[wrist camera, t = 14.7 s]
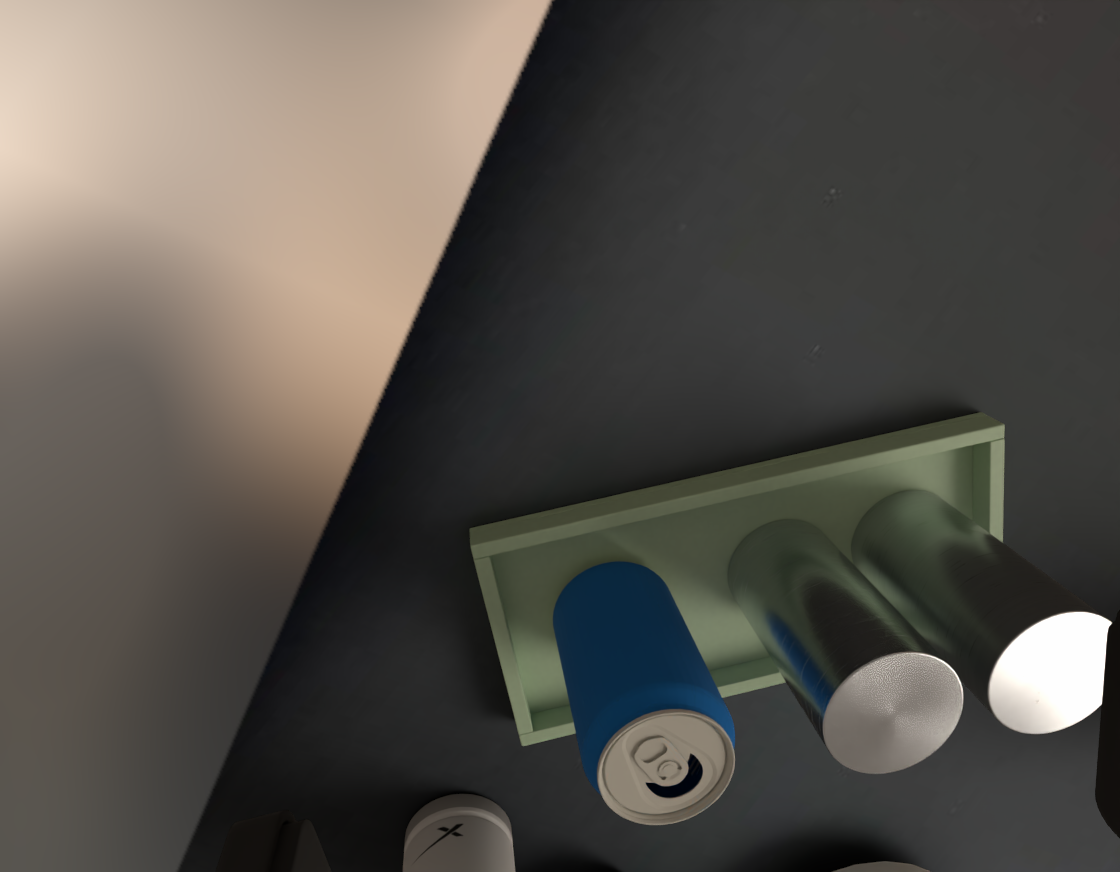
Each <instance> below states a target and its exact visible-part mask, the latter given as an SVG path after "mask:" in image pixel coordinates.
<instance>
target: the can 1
mask: <svg viewBox="0 0 1120 872" xmlns="http://www.w3.org/2000/svg"><path fill="white" fill-rule="evenodd" d="M727 577H728V586H729V589H730V592H731V594H732V596H733V598H734V599H735V601H736V603H737V604H738V606H739V607H740V609H741V611H742V612H743V614H744V616H745V617H746V619H747V620H748V622H749V624H750V625H751V627H752V628H753V630H754V632H755V633H756V635H757V636H758V638H759V640H760V641H761V643H762V644H763V646H764V648H765V649H766V651H767V652H768V654H769V656H770V657H771V659H772V661H773V662H774V664H775V665H776V667H777V669H778V670H779V672H780V673H781V675H782V677H783V678H784V680H785V681H786V683H787V685H788V686H789V688H790V689H791V691H792V693H793V694H794V696H795V698H796V699H797V701H798V702H799V704H800V706H801V707H802V709H803V710H804V712H805V714H806V715H807V717H808V718H809V720H810V722H811V723H812V725H813V726H814V728H815V730H816V731H817V733H818V734H819V736H820V738H821V739H822V741H823V743H824V744H825V746H826V747H827V749H828V751H829V752H830V753H831V755H832V756H833V757H834V758H835V759H836V760H837V761H838V762H839V763H841V764H843V765H844V766H846V767H848V768H850V769H852V770H855V771H858V772H862V773H869V774H882V773H890V772H895V771H899V770H902V769H905V768H908V767H910V766H912V765H915V764H916V763H918V762H920V761H922V760H924V759H925V758H927V757H928V756H930V755H931V754H932V753H934V752H935V751H936V750H937V749H938V748H939V747H940V746H941V745H942V744H943V743H944V742H945V741H946V740H947V739H948V737H949V736H950V735H951V733H952V732H953V730H954V729H955V727H956V725H957V723H958V721H959V718H960V716H961V712H962V708H963V699H964V696H963V688H962V684H961V681H960V679H959V677H958V675H957V673H956V672H955V670H954V669H953V668H952V667H951V666H950V665H949V664H948V663H947V662H946V660H945V659H944V658H943V657H942V656H941V655H940V654H939V653H938V652H937V651H936V650H935V649H934V648H933V647H932V646H931V645H930V644H929V643H928V642H927V641H926V640H925V639H924V637H923V636H922V635H921V634H920V633H919V632H918V631H917V630H916V629H915V628H914V627H913V626H912V625H911V624H910V623H909V622H908V621H907V620H906V619H905V618H904V617H903V616H902V614H901V613H900V612H899V611H898V610H897V609H896V608H895V607H894V606H893V605H892V604H891V603H890V602H889V601H888V600H887V599H886V598H885V597H884V596H883V595H882V594H881V592H880V591H879V590H878V589H877V588H876V587H875V586H874V585H873V584H872V583H871V582H870V581H869V580H868V579H867V578H866V577H865V576H864V575H863V574H862V573H861V572H860V571H859V569H858V568H857V567H856V566H855V565H854V564H853V563H852V562H851V561H850V560H849V559H848V558H847V557H846V556H845V555H844V554H843V553H842V552H841V551H840V550H839V549H838V547H837V546H836V545H835V544H834V543H833V542H832V541H831V540H830V539H829V538H828V537H827V536H826V535H825V534H824V533H823V532H822V531H821V530H820V529H819V528H817V527H816V526H814V525H812V524H810V523H808V522H805V521H801V520H795V519H783V520H777V521H773V522H770V523H767V524H765V525H762V526H760V527H759V528H757V529H755V530H754V531H752V532H751V533H750V534H748V535H747V536H746V537H745V538H744V539H743V540H742V541H741V542H740V544H739V545H738V546H737V548H736V549H735V551H734V553H733V555H732V557H731V560H730V563H729V567H728V574H727Z"/></svg>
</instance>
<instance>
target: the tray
mask: <svg viewBox="0 0 1120 872" xmlns="http://www.w3.org/2000/svg"><path fill="white" fill-rule="evenodd" d="M907 490H923V491H927V492H930V493H933V494H935V495H937V496H939V497H940V498H942V499H943V500H945V501H946V502H947V503H949V504H950V505H951V506H953V507H954V508H956V509H957V510H958V511H960V512H961V513H962V514H964V515H965V516H967V517H968V518H969V519H971V520H972V521H973V522H975V523H976V524H978V525H979V526H980V527H982V528H983V529H984V530H986V531H987V532H989V533H990V534H991V535H993V536H994V537H996V538H997V539H998V540H1000V541H1001V542H1002V543H1003V498H1004V424H1003V423H1001V422H999V421H997V420H995V419H993V418H991V417H989V416H986V414H984V413H982V412H979V413H975V414H970V415H966V416H962V417H957V418H953V419H948V420H944V421H940V422H935V423H931V424H926V425H922V426H918V427H913V428H909V429H904V430H900V431H896V432H891V433H887V434H882V435H878V436H874V437H869V438H865V439H860V440H856V441H852V442H847V443H843V444H838V445H834V446H830V447H825V448H821V449H816V450H812V451H808V452H803V453H799V454H794V455H790V456H786V457H781V458H777V459H772V460H768V461H764V462H759V463H755V464H750V465H746V466H741V467H737V468H733V469H728V470H724V471H719V472H715V473H711V474H706V475H702V476H697V477H693V478H689V479H684V480H680V481H675V482H671V483H667V484H662V485H658V486H653V487H649V488H645V489H640V490H636V491H631V492H627V493H623V494H618V495H614V496H609V497H605V498H601V499H596V500H592V501H587V502H583V503H579V504H574V505H570V506H565V507H561V508H557V509H552V510H548V511H543V512H539V513H535V514H530V515H526V516H521V517H517V518H513V519H508V520H504V521H499V522H495V523H491V524H486V525H482V526H477V527H473V528H470V529H469V531H470V547H471V551H472V555H473V558H474V563H475V567H476V571H477V575H478V579H479V582H480V586H481V590H482V594H483V598H484V602H485V606H486V610H487V613H488V617H489V621H490V625H491V629H492V633H493V637H494V641H495V644H496V648H497V652H498V656H499V660H500V664H501V668H502V671H503V675H504V679H505V683H506V687H507V691H508V695H509V699H510V702H511V706H512V710H513V714H514V718H515V722H516V726H517V730H518V733H519V737H520V741H521V745H522V746H526V745H530V744H534V743H538V742H542V741H546V740H550V739H554V738H559V737H563V736H567V735H571V734H575V733H576V731H575V727H574V722H573V717H572V713H571V708H570V703H569V699H568V694H567V689H566V685H565V680H564V675H563V670H562V666H561V661H560V656H559V652H558V647H557V642H556V638H555V633H554V628H553V611H554V607H555V604H556V601H557V599H558V597H559V595H560V593H561V591H562V590H563V589H564V587H565V586H566V585H567V584H568V583H569V582H570V581H571V580H572V579H573V578H574V577H575V576H577V575H578V574H579V573H581V572H582V571H584V570H586V569H588V568H590V567H592V566H595V565H598V564H601V563H605V562H612V561H627V562H633V563H637V564H640V565H643V566H645V567H647V568H649V569H651V570H652V571H654V572H655V573H656V574H657V575H659V576H660V577H661V578H662V580H663V581H664V582H665V583H666V585H667V586H668V588H669V590H670V592H671V594H672V596H673V598H674V600H675V603H676V605H677V607H678V609H679V611H680V613H681V615H682V617H683V619H684V621H685V623H686V625H687V627H688V629H689V631H690V633H691V635H692V637H693V639H694V641H695V643H696V645H697V648H698V650H699V652H700V654H701V656H702V658H703V660H704V662H705V664H706V666H707V668H708V670H709V672H710V674H711V676H712V678H713V680H714V682H715V684H716V686H717V688H718V691H719V693H720V695H721V697H722V698H723V697H727V696H731V695H736V694H740V693H744V692H748V691H752V690H756V689H760V688H764V687H768V686H773V685H777V684H781V683H785V682H786V681H785V680H784V678H783V677H782V675H781V673H780V672H779V670H778V669H777V667H776V665H775V664H774V662H773V661H772V659H771V657H770V656H769V654H768V652H767V651H766V649H765V648H764V646H763V644H762V643H761V641H760V640H759V638H758V636H757V635H756V633H755V632H754V630H753V628H752V627H751V625H750V624H749V622H748V620H747V619H746V617H745V616H744V614H743V612H742V611H741V609H740V607H739V606H738V604H737V603H736V601H735V599H734V598H733V596H732V594H731V592H730V589H729V586H728V577H727V574H728V567H729V563H730V560H731V557H732V555H733V553H734V551H735V549H736V548H737V546H738V545H739V544H740V542H741V541H742V540H743V539H744V538H745V537H746V536H747V535H748V534H750V533H751V532H752V531H754V530H755V529H757V528H759V527H760V526H762V525H765V524H767V523H770V522H773V521H777V520H783V519H795V520H801V521H805V522H808V523H810V524H812V525H814V526H816V527H817V528H819V529H820V530H821V531H822V532H823V533H824V534H825V535H826V536H827V537H828V538H829V539H830V540H831V541H832V542H833V543H834V544H835V545H836V546H837V547H838V549H839V550H840V551H841V552H842V553H843V554H844V555H845V556H846V557H847V558H848V559H849V560H850V561H851V562H852V563H853V559H852V553H851V545H852V539H853V536H854V532H855V530H856V528H857V526H858V524H859V522H860V520H861V519H862V518H863V516H864V515H865V514H866V513H867V512H868V511H869V509H870V508H872V507H873V506H874V505H875V504H876V503H878V502H879V501H881V500H882V499H884V498H886V497H888V496H890V495H892V494H895V493H898V492H901V491H907ZM853 564H854V563H853Z"/></svg>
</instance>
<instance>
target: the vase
mask: <svg viewBox="0 0 1120 872" xmlns="http://www.w3.org/2000/svg"><path fill="white" fill-rule="evenodd" d="M833 872H931V871H928V870H926V869H923V868H921V867H918V866H916V865H913V864H906V863H897V862H888V861H882V862H873V863H864V864H855V865H852V866H849V867H846V868H843V869H839V870H836V871H833Z"/></svg>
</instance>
